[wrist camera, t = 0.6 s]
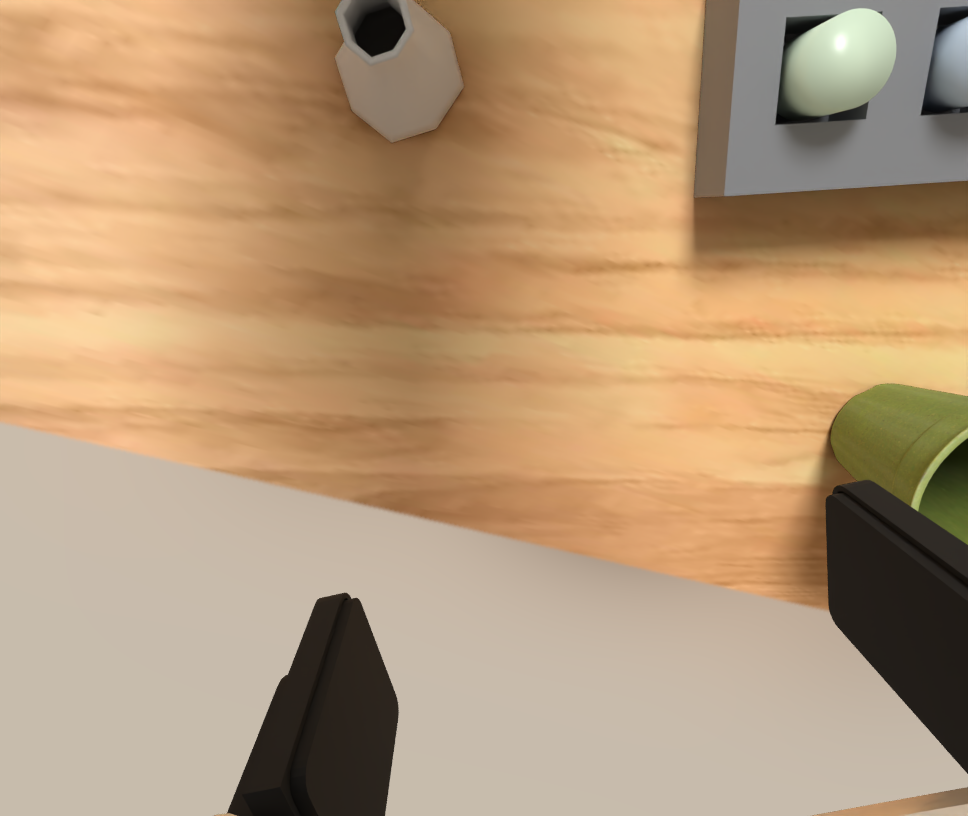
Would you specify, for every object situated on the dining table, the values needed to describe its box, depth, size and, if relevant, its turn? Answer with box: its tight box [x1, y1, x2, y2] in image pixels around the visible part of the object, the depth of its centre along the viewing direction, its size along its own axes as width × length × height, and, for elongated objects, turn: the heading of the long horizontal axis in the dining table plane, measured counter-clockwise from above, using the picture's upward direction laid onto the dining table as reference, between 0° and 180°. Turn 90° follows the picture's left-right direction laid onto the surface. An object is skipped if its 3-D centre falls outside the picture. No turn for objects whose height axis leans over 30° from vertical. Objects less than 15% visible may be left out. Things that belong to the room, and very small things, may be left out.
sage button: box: [777, 8, 896, 121], centre depth 30 cm, size 4×4×4 cm
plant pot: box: [830, 384, 968, 545], centre depth 37 cm, size 12×12×11 cm
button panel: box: [694, 0, 968, 198], centre depth 32 cm, size 12×26×4 cm, turn 94°
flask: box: [335, 0, 464, 143], centre depth 28 cm, size 7×7×10 cm
